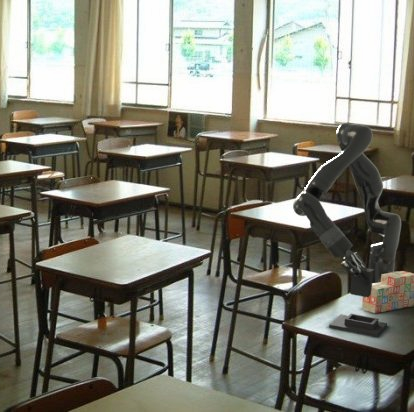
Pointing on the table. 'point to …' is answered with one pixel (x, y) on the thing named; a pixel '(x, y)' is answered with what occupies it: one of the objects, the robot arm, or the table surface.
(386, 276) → the stack of blocks
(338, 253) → the robot arm
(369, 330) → the base pad
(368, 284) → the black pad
